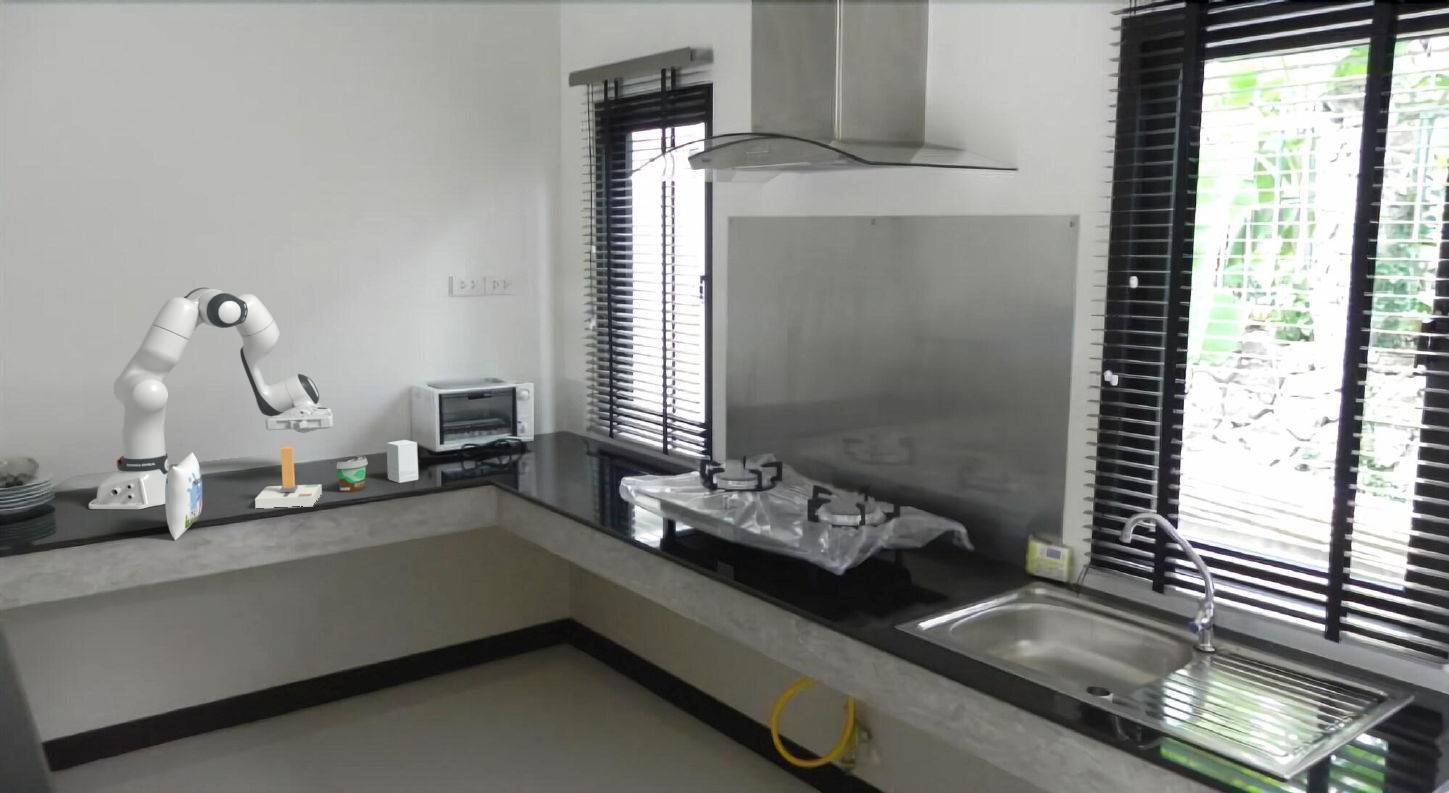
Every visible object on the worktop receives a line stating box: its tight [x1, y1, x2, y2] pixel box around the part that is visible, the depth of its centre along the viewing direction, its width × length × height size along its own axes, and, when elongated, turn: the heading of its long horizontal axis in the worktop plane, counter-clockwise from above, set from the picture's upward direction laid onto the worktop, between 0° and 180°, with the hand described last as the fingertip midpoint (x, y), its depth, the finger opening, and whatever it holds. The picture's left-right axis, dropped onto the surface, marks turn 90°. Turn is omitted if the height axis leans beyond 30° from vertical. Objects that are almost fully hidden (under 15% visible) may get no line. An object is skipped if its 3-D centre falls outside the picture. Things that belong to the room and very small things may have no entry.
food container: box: [336, 454, 369, 493], centre depth 336 cm, size 12×6×10 cm, turn 168°
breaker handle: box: [280, 446, 299, 492], centre depth 319 cm, size 4×5×13 cm
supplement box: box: [386, 439, 419, 483], centre depth 350 cm, size 7×7×13 cm
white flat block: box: [254, 483, 323, 509], centre depth 321 cm, size 16×16×3 cm
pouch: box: [164, 452, 203, 542], centre depth 286 cm, size 8×19×20 cm, turn 9°
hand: (296, 426), depth 333 cm, fingers closed
